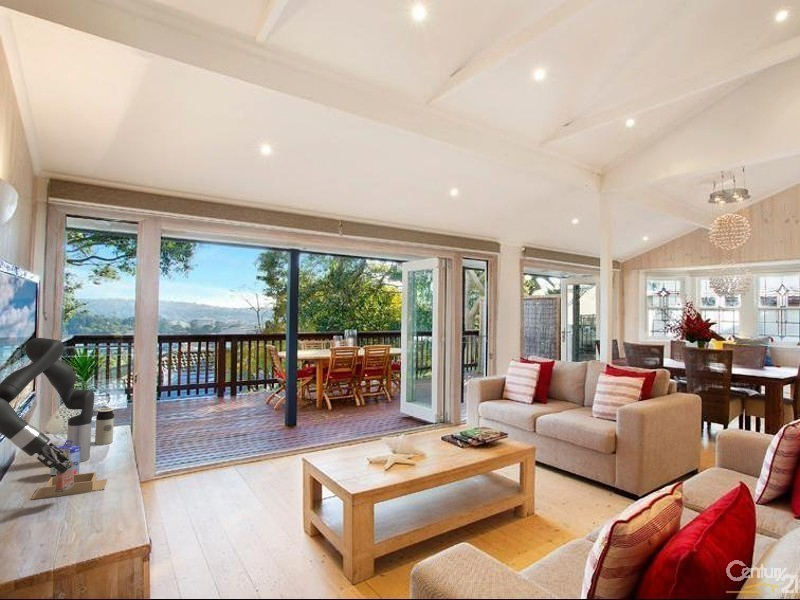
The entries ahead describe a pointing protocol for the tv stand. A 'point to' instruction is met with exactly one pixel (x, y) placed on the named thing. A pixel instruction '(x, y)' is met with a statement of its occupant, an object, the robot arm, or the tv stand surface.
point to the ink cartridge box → (69, 456)
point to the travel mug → (104, 426)
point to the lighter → (65, 477)
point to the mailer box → (81, 485)
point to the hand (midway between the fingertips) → (67, 467)
